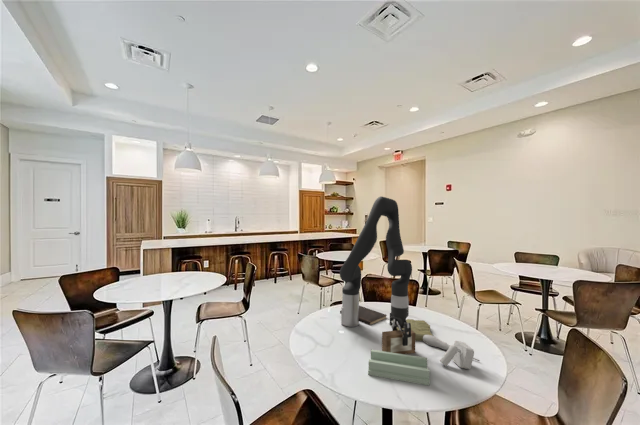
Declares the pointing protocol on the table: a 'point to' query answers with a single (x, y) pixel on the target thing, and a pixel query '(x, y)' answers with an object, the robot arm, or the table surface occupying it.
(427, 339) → the screwdriver
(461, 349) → the wall hook
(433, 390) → the table surface
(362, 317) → the hardcover book
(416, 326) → the decorative tile
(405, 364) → the pale green channel holder
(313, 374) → the table surface
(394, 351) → the wooden picture frame
